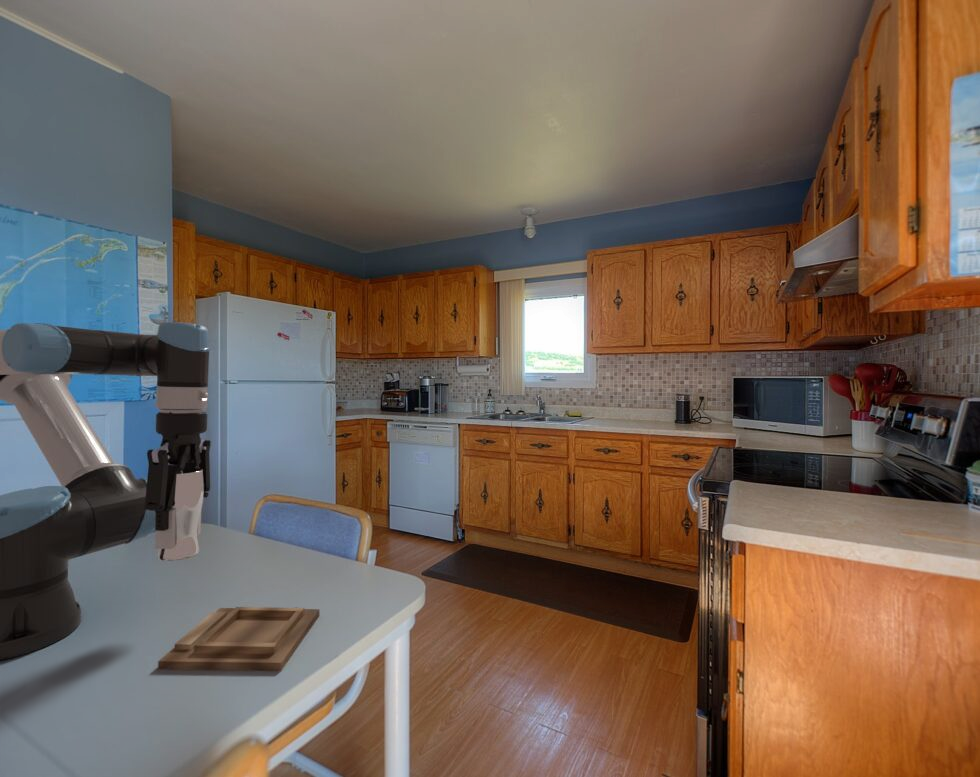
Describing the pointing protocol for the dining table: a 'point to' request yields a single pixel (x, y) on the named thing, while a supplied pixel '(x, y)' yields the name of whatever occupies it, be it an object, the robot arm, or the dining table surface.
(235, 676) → the dining table surface
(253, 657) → the tray
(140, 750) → the dining table surface
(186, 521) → the beer glass
